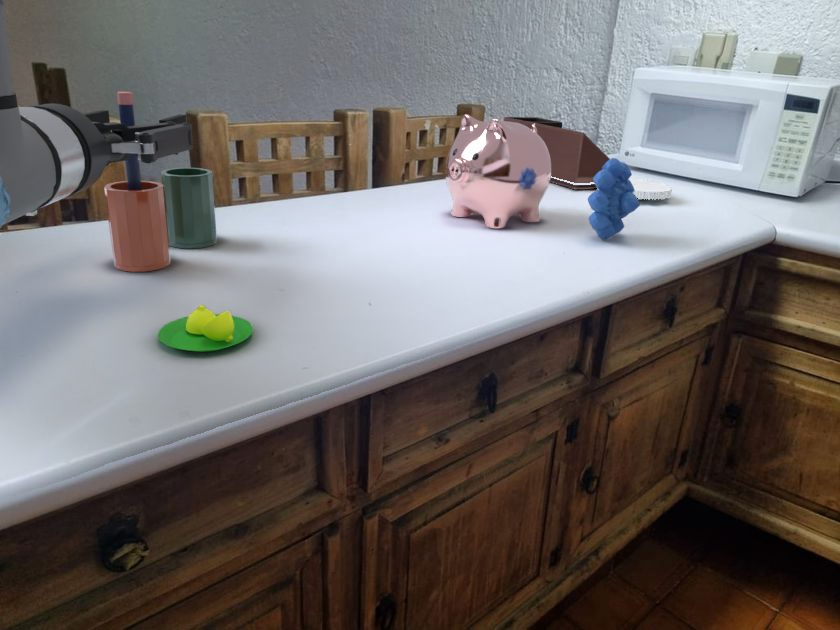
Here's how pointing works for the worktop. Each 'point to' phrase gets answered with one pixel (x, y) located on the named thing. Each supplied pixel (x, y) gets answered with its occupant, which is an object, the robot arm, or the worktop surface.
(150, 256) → the terracotta cup
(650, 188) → the plastic lid
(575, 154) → the desk organizer
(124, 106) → the pencil
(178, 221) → the green cup
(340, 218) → the worktop surface
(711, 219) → the worktop surface
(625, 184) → the blue lumpy block
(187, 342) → the lemons on green plate
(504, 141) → the piggy bank
